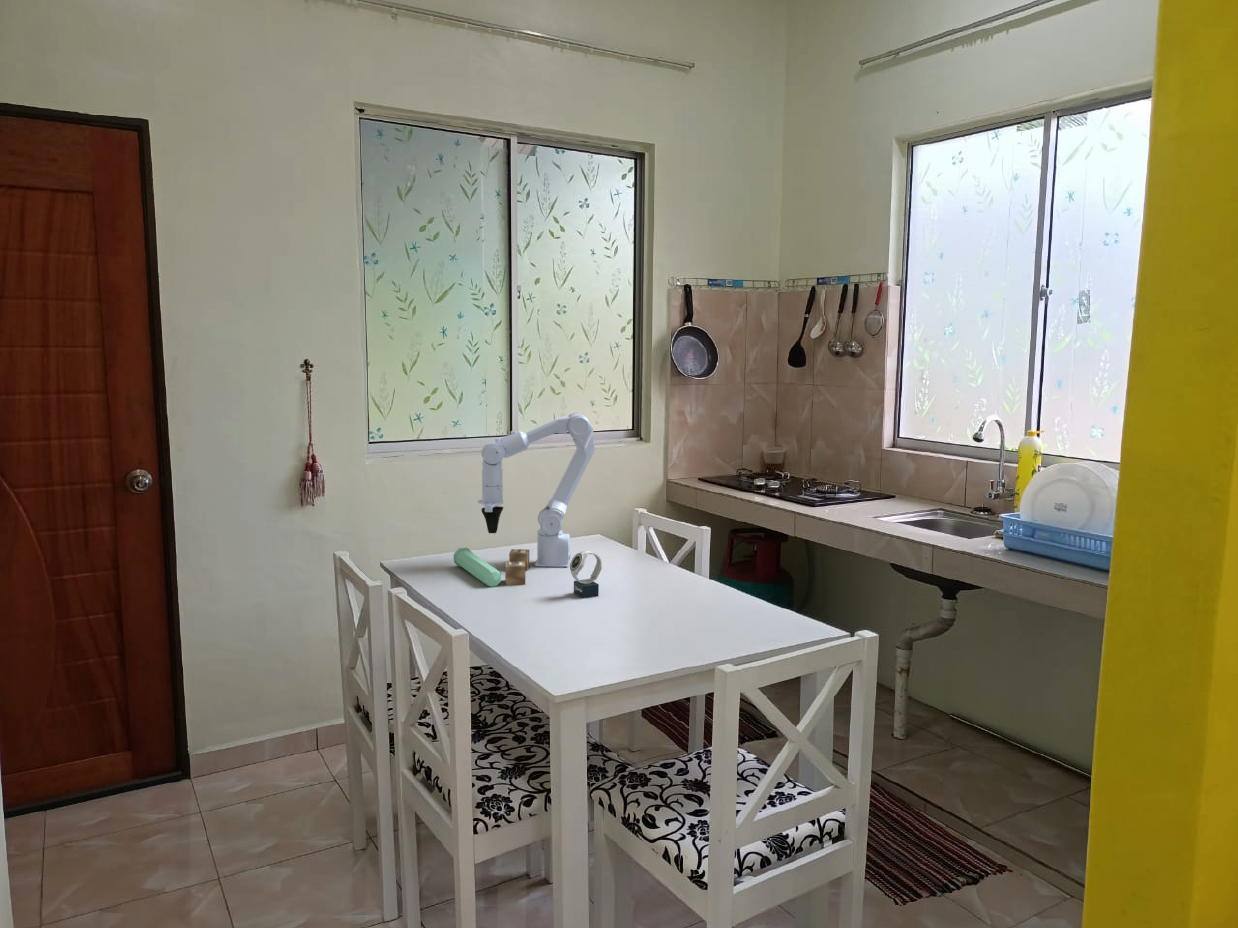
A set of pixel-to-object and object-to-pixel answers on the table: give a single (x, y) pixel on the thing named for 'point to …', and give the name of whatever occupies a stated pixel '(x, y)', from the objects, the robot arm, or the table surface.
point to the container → (477, 567)
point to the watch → (586, 586)
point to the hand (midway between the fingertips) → (492, 532)
